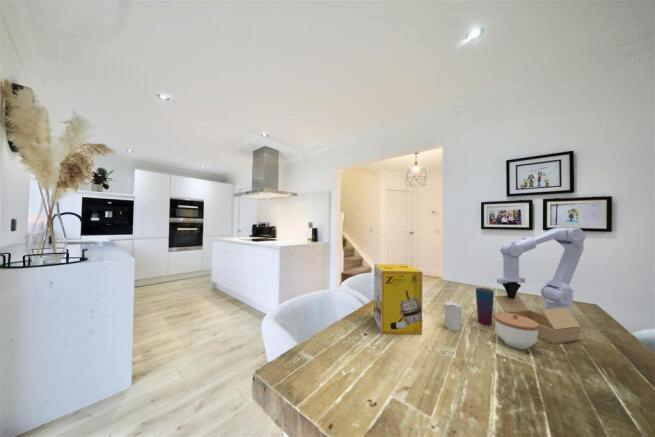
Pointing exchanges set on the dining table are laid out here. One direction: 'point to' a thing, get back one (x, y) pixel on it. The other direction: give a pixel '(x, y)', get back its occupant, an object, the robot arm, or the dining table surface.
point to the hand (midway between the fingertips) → (511, 298)
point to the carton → (550, 328)
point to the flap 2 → (560, 318)
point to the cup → (484, 305)
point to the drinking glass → (453, 315)
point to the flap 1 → (511, 303)
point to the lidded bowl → (516, 330)
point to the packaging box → (398, 299)
